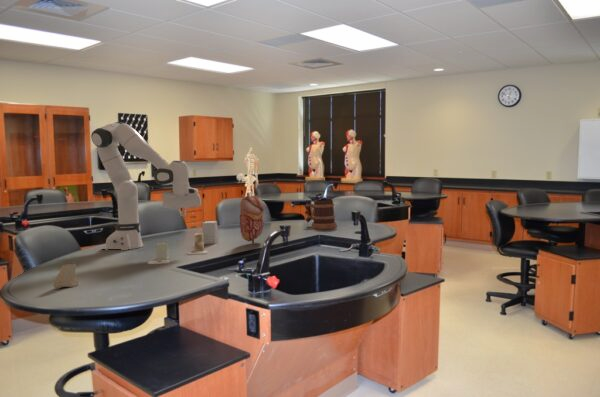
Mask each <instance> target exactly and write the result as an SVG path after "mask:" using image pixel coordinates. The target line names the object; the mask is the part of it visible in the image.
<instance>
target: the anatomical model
mask: <svg viewBox="0 0 600 397" xmlns="http://www.w3.org/2000/svg"><path fill="white" fill-rule="evenodd" d="M263 203H264V202H263V201H262V199H261V198H260V197H259V196H257V195H256V196H255V195H250V192H249V191H248V192H246V196H244V197H242V198H241V201H240V203H239V208H240V210H239V212H240V213H239V229H240V234H241V237H242V239H243V240H244V241H247V242H251V244H253V245H254V244H255V240H256V239H257V238H259V237H260V236H261V235H262V234H263V230H264V224H265V221H264V218H263V214H264V204H263Z"/></svg>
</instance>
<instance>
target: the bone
mask: <svg viewBox="0 0 600 397" xmlns="http://www.w3.org/2000/svg"><path fill="white" fill-rule="evenodd" d="M76 268H77V263H72V262H66V263H62V266H61V269H60V270H59V272H58V273H57V275H56V277H55V279H54V281H53V287H54V289H55V290H58V289H61V288H68V287H70V288H74V287H77V286H78V285H79V280H77V278H76Z"/></svg>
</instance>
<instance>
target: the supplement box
mask: <svg viewBox="0 0 600 397" xmlns="http://www.w3.org/2000/svg"><path fill="white" fill-rule="evenodd" d="M201 226H202V233H203V239H204V245H208V244H209V245H212V244H217V243H218V242H219V233H218V221H217V220H211V221H210V220H209V221H204V222H202V223H201Z"/></svg>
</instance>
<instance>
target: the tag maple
mask: <svg viewBox="0 0 600 397" xmlns="http://www.w3.org/2000/svg"><path fill="white" fill-rule="evenodd" d="M206 254H208V250H203V251H195V250H194V251H188V252H187V255H188V256H191V255H206Z"/></svg>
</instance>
